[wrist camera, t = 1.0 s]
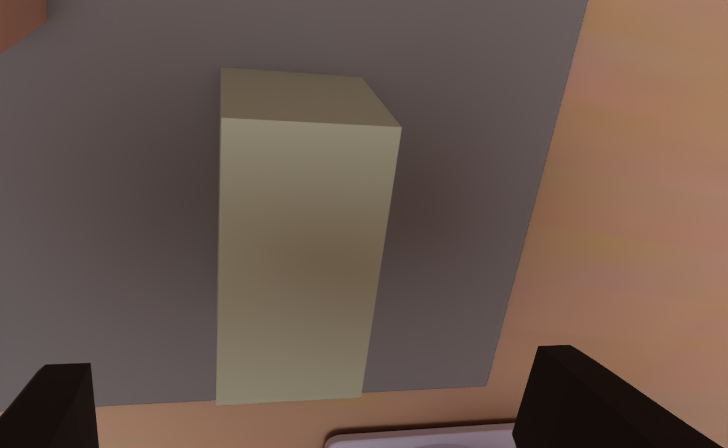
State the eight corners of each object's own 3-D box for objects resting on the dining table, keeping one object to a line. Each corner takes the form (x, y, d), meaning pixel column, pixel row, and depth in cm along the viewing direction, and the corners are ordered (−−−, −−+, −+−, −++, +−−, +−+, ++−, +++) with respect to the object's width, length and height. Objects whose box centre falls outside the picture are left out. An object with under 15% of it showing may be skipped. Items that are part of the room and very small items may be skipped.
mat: (481, 378, 22) (485, 386, 22) (-357, 419, 16) (-369, 430, 16) (627, -184, 15) (637, -187, 14) (-816, -463, 9) (-858, -478, 9)
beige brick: (334, 306, 19) (360, 397, 15) (216, 308, 18) (215, 405, 15) (361, 77, 16) (401, 127, 12) (220, 66, 15) (221, 117, 11)
